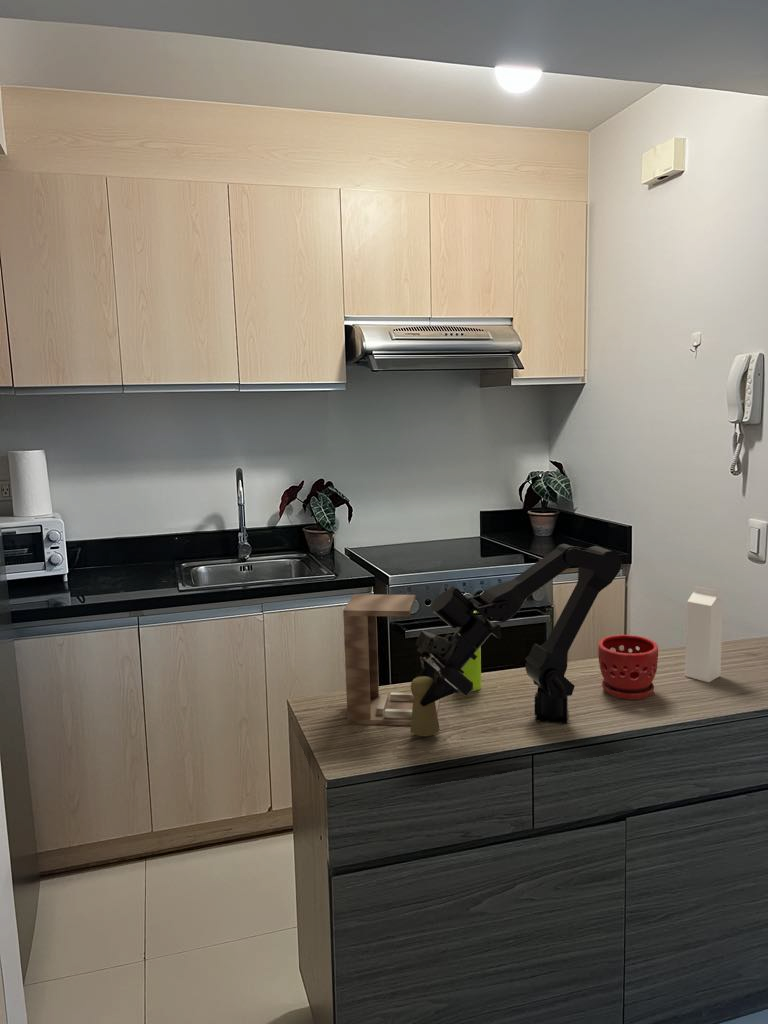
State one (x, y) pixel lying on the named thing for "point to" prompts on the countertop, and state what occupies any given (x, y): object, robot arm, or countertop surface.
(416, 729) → the cork
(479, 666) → the soap dispenser
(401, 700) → the wooden stand
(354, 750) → the countertop surface
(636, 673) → the plant pot
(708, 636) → the milk
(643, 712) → the countertop surface
